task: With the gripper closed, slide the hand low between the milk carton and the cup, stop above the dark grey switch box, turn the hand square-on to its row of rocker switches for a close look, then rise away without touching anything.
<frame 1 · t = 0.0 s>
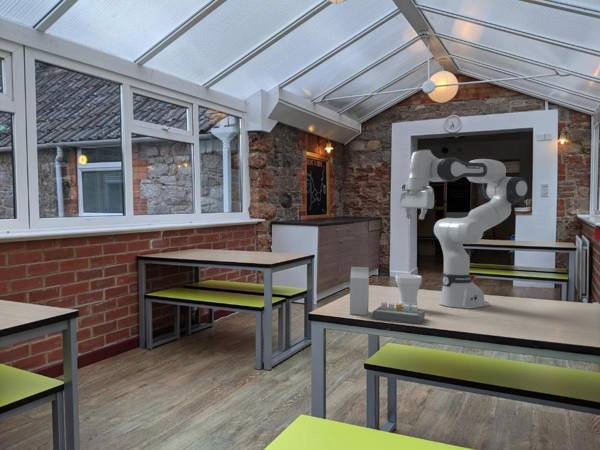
hand: (414, 218, 210), 39 cm above the table, tool pointing down, fingers open, 8 cm apart
rocker switch: (399, 307, 192), point 5 cm above the table, hinge at 15.0°
cup: (407, 309, 210), on the table
milk carton: (359, 313, 201), on the table
switch box: (398, 318, 192), on the table
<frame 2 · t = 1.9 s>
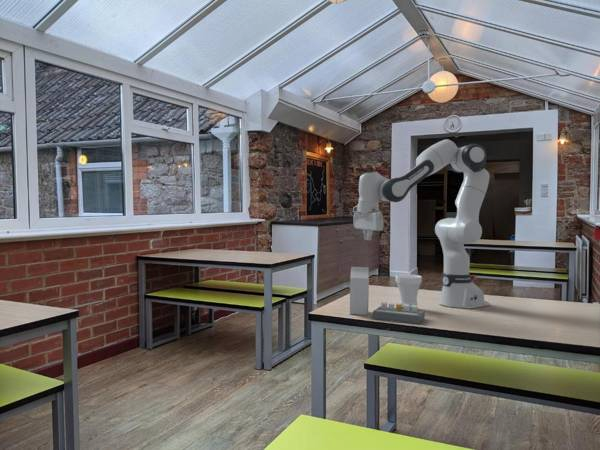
hand: (367, 239, 215), 29 cm above the table, tool pointing down, fingers closed
nothing on the table moved.
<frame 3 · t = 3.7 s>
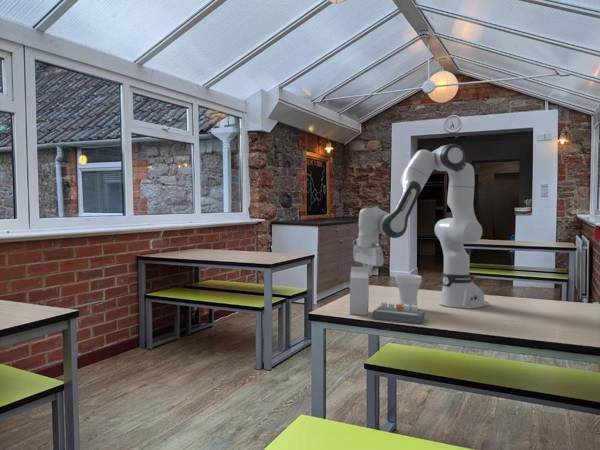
hand: (367, 273, 215), 14 cm above the table, tool pointing down, fingers closed
nothing on the table moved.
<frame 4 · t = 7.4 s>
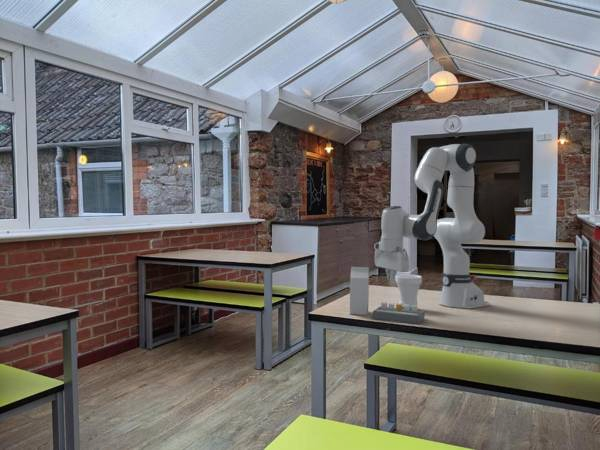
hand: (390, 280, 197), 14 cm above the table, tool pointing down, fingers closed
nothing on the table moved.
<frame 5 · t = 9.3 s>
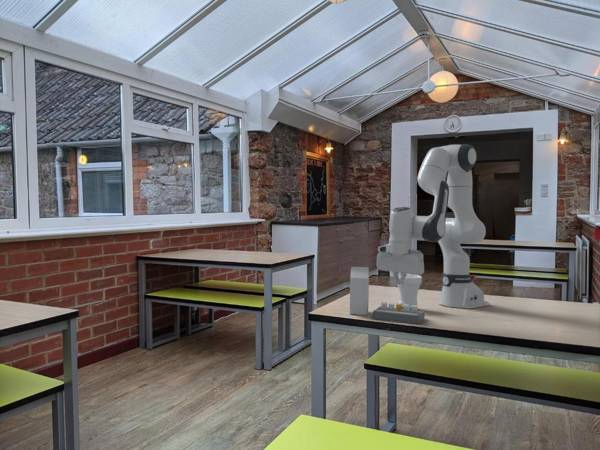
hand: (399, 283, 191), 14 cm above the table, tool pointing down, fingers closed
nothing on the table moved.
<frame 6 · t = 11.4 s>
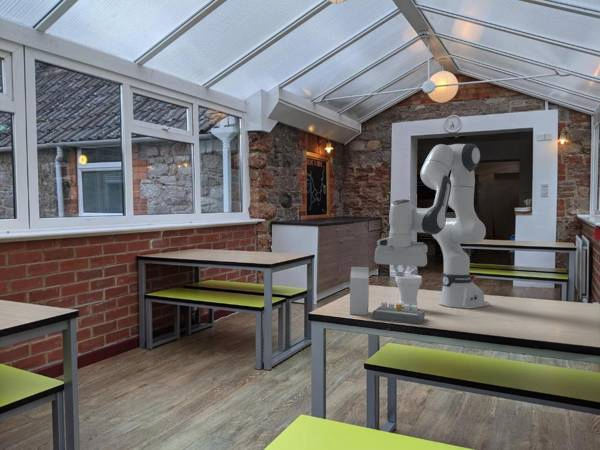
hand: (400, 276, 191), 17 cm above the table, tool pointing down, fingers closed
nothing on the table moved.
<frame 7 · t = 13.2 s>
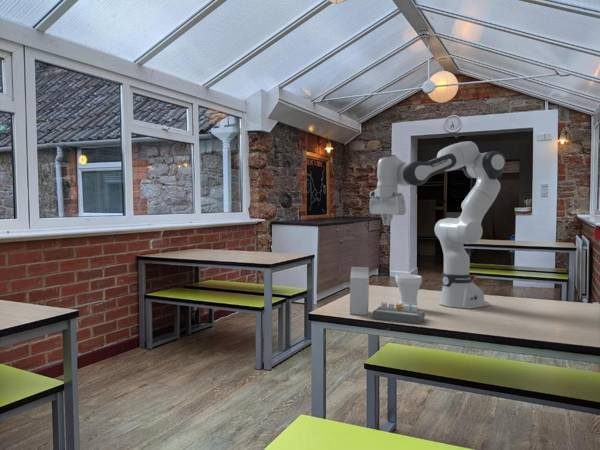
hand: (386, 225, 211), 36 cm above the table, tool pointing down, fingers closed
nothing on the table moved.
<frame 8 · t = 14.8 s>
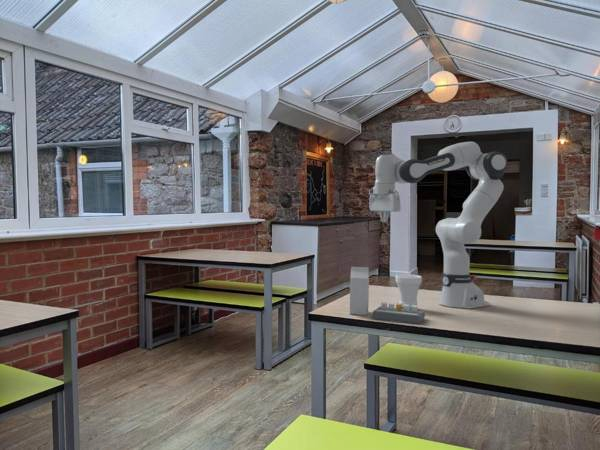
hand: (384, 221, 215), 37 cm above the table, tool pointing down, fingers closed
nothing on the table moved.
at the end: milk carton moved 0.2 cm from its start; cup moved 0.2 cm from its start; rocker switch at +15° (first picture: +15°) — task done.
